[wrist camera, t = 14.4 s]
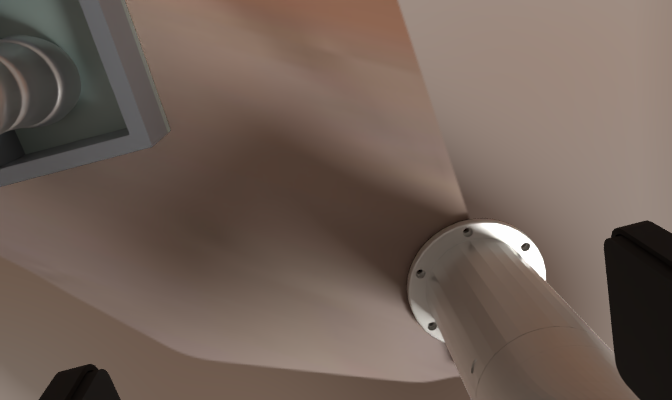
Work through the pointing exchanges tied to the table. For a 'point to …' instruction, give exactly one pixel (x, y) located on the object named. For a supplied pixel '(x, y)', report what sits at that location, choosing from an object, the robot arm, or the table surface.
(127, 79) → the grey open box
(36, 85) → the plastic bottle
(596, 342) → the robot arm
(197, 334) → the table surface
